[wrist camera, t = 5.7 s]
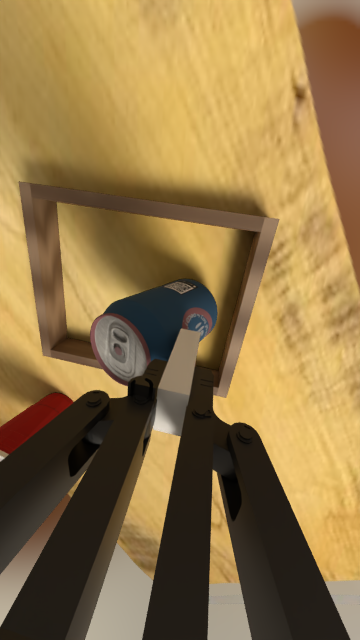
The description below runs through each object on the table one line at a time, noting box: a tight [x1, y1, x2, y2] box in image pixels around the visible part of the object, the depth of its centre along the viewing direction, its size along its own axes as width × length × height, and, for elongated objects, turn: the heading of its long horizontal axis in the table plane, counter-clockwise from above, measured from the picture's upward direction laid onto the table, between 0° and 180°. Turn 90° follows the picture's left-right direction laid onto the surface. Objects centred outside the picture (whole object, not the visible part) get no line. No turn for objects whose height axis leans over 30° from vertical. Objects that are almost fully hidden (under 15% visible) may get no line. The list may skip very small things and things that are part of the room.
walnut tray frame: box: [19, 182, 279, 398], centre depth 25 cm, size 20×25×4 cm
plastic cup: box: [0, 393, 73, 461], centre depth 32 cm, size 11×11×12 cm
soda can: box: [90, 279, 217, 386], centre depth 20 cm, size 7×7×12 cm
